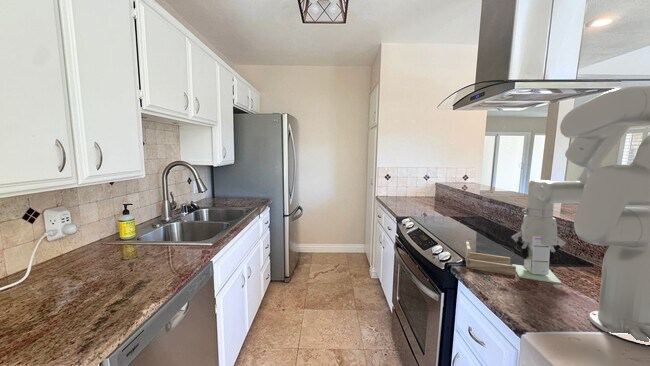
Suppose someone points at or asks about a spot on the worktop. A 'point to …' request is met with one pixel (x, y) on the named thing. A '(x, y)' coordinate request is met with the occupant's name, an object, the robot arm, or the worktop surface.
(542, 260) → the syrup box
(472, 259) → the frame
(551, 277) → the mat
